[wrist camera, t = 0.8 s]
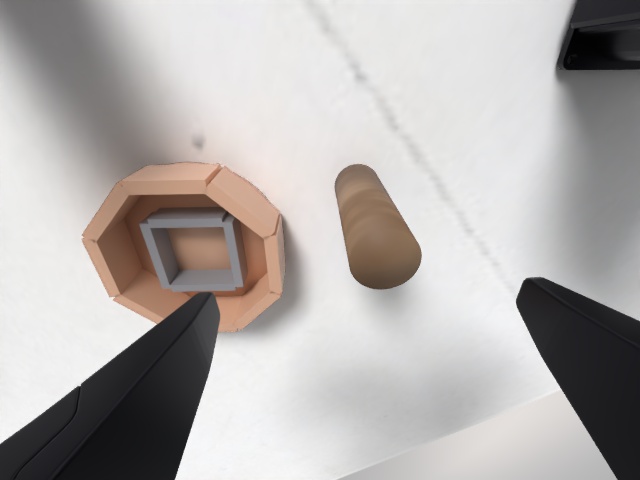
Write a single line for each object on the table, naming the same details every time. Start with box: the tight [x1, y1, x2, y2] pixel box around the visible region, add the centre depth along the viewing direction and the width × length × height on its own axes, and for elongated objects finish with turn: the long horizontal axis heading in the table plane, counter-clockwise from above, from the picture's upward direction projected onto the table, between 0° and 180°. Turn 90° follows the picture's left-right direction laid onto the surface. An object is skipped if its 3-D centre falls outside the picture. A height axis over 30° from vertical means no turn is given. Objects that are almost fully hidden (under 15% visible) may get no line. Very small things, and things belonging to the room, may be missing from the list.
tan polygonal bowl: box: [82, 162, 286, 332], centre depth 20 cm, size 12×12×4 cm
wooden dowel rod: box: [335, 164, 422, 289], centre depth 16 cm, size 3×3×9 cm
